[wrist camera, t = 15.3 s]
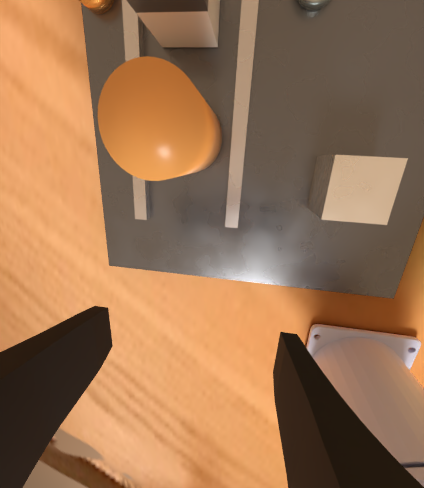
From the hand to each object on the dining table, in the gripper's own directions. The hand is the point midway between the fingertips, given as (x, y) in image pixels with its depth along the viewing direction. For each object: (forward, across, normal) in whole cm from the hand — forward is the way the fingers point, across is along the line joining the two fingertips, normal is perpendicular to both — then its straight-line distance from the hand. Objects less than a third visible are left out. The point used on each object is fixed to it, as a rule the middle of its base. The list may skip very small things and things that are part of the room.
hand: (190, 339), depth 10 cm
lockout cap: (+7, +2, -8) cm, 11 cm away
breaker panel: (+9, -2, -9) cm, 13 cm away
